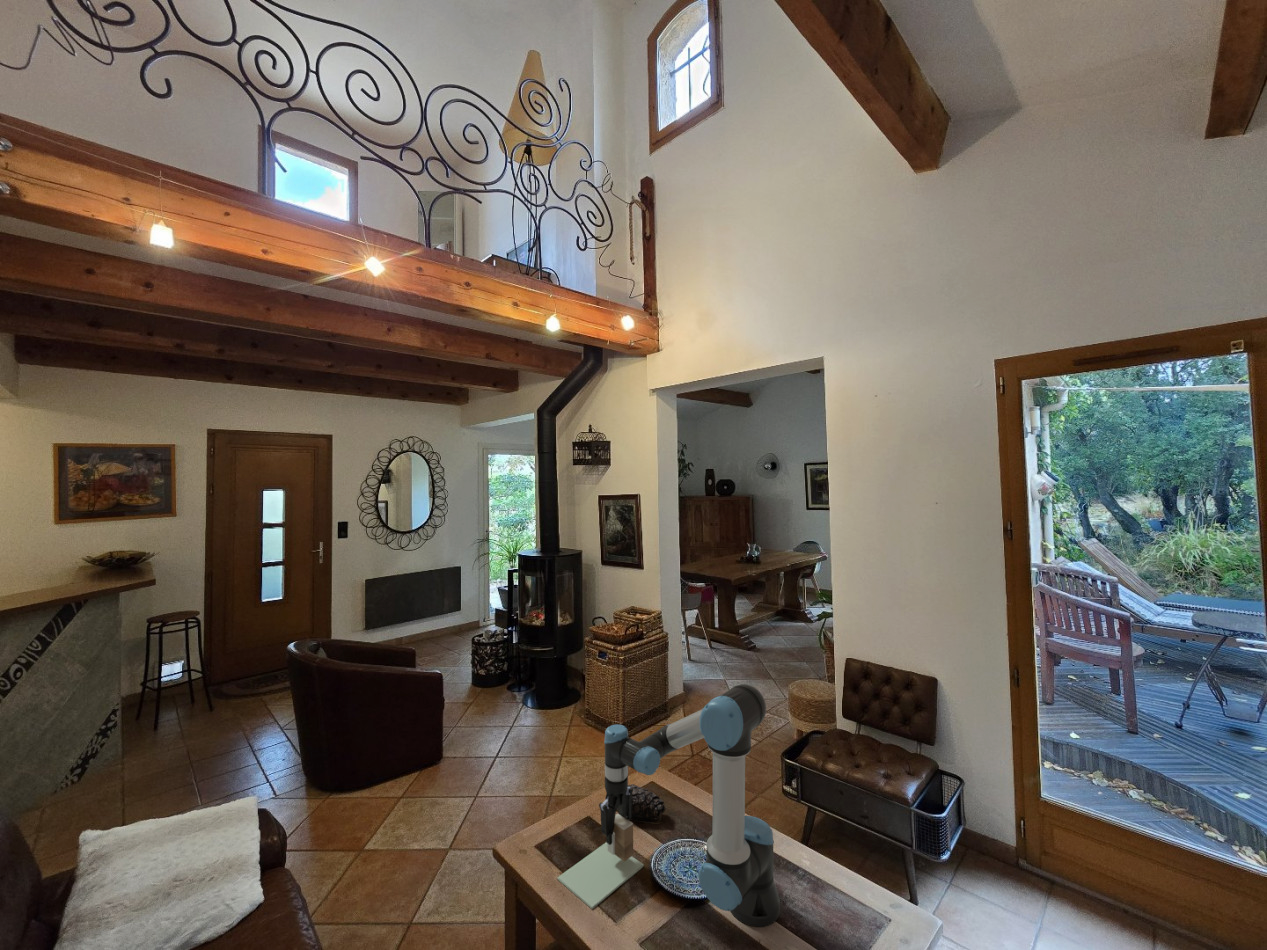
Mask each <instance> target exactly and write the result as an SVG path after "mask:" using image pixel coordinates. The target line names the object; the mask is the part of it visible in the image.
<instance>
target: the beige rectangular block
mask: <svg viewBox="0 0 1267 950" xmlns="http://www.w3.org/2000/svg"><path fill="white" fill-rule="evenodd" d="M613 832H614V833H615V855H616V856H617V857H619V858H620V859H622V860H623V861H624V862H625V861H626V860H627V859H629V858H630V857H631V856H632V857H633V855H634V823H633V822H632V821H631V820H627V819H626V818H624V817H623V816H621V815H620V814H619V813H616V814H615V822H614V830H613Z"/></svg>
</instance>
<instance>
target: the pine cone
mask: <svg viewBox="0 0 1267 950" xmlns="http://www.w3.org/2000/svg"><path fill="white" fill-rule="evenodd" d="M628 786H629V787H630V788H632V789H633V792H632V803H631V819H630V820H629V821H635V822H639V823H648V824H654V825H655V824H656V825H658V824H662V823H663V821H662V822H661V820H662V818H663V817H664V815H663V814H664V812H665V811H666V809H667V808H666V806H665V805H664V804H665V801H663V799H660V796H658V795H657V794H655V793H653V792H652V791H649V790H648V789H646V788H643V787H642V786H639V785H636V784H634V783H633V784H628ZM627 814H628V813H627Z"/></svg>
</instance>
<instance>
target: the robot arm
mask: <svg viewBox="0 0 1267 950" xmlns="http://www.w3.org/2000/svg"><path fill="white" fill-rule="evenodd" d="M766 714H767V704H766V700H765V698H764V696H763V694H762V693H761V691H759V689H758V688H756V687H754V686H753V685H751V684H746V683H743V684H737V685H735V686H733V687H731V688H730V689H729V690H727V691H725V692H724V693H722V694H720V695H718V696H716V697H714V698H712V699H711V700H709V701H708V703H707V704H705V706H704V707H703V708H701V709H699V710H698V711H694V712H693V713H691V714H688V715H687V716H685V717H683V718H681V719H679V720H676V721H675V722H672V723H668V724H666V725H664V726H662V727H660V729H658V730H656V731H655V732H653V733H652V734H649V735H648V736H647V737H644V738H643V739H641V740H640V741H639V740H635V739H633V738H632V737H629V731H628V728H627V727H626V726H625V725H623V724H611V725H610V726H608V727H607V728H606V729H605V731H604V741H603V743H604V789H605V793H606V794H605V797H604V798H605V799H604V801H603V802H599V803H598V807H599V810H600V831H601V833H602V834H604V835H605V836H606V838H605V839H606V841H605V843H606V842H607V843H608V852H610V853H611V854H613V855H614V854H615V833H614V832H613V830H614V822H615V815H616V814H620V815H621V816H623V817H624V818H626V819H627V820H629V821H631V820H630V819H631V803H632V792H633V789H632V788H630V787H629V786H628V785H629V777H628V776H629V768H631V769H632V770H634V771H636V772H638V773H639V774H644V775H646V776H652V775H654V774H655V773H656V772H657V770H658V768H659V766H660V764H661V759H662V758H664V757H665V756H667V755H668V754H670V753H672V752H675V751H677V750H679V749H681V748H683V747H686V746H688V745H691V744H693V743H695V742H698V741H700V740H702V739H703V740H704V741H705V742H706V745H707V747H708V750H710V752H712V824H711V825H712V827H711V828H712V833H711V835H710V836H709V837H708V839H707V841H706V854H705V855H706V859H705V862H703V863H702V864H701V865H700V868H699V870H698V875H697V877H698V882H699V886H700V888H701V889H702V892H703V893H704V894H705V896H706V898H707V899H708V900H709V902H711V904H712V905H714V906H715V907H716V908H718V909H719V910H722V911H725V912H726V911H727V912H731V914H732V915H733V916H734V917H735V918H736V919H737V920H738V921H740V922H741V923H743V924H744V925H745V924H746V925H748V926H751V927H758V928H759V927H768V926H771V925H772V924H773V923H776V921H777V920H778V919H779V917H780V914H781V897H780V895H779V892H778V890H777V889H778V888H777V886H776V883H775V878H774V871H775V870H774V869H775V868H774V864H775V863H774V844H775V841H774V835H773V830H772V828H771V826H770V825H769V824H768V823H767V822H766V821H764V820H763V819H761V818H759V817H757V816H753V815H746V814H745V813H746V804H745V802H746V756H748V755H749V754H750V753H751V750H752V731H753V730H756V728H757V727H759V725H761V723H762V722H763V721H764V719H765V717H766ZM617 811H618V813H616V812H617ZM627 813H628V814H627Z"/></svg>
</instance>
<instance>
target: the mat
mask: <svg viewBox="0 0 1267 950" xmlns="http://www.w3.org/2000/svg"><path fill="white" fill-rule="evenodd" d="M643 867H644V863H642V862H641V861H639V859H636V858H635V857H633V855H632V856H631V857H630V858H629V859H627V860H626V861H625V862H624V861H623V860H622V859H620V858H619V857H617V856H616V855H615V854H614V855H613V854H611V853H610V852H608V843H607V842H606V841H605V843H603V844H601V845H600V846H599V847H597V848H596V849H595V850H593V851H591V852H590V853H589V854H588V855H587V856H585V857H584V858H582V859H581V860H580V861H578V862H577V863H575V864H574V865H573V866H571V867H570V868H569V869H567V870H566V871H564V872H563V873H562V874H560V875H559V876H558V877H557V878H556V879H557V881H559V882H560V883H561V884H562V885H563V886H564V887H565V888H567V889H568V890H569V891H570V892H571V893H573V895H574V896H576V897H577V898H578V899H579V900H580V901H581V902H583V903H584V904H585V905H587V907H588V908H590V909H591V910H593V909H595V908H596V907H597V906H598V905H599V904H600V903H602V902H603V901H604V900H605V899H607V897H609V896H610V895H611V894H612V893H614V892H615V891H616V890H617V889H619V888H620V886H622V885H623V884H624V883H625V882H627V881H628V880H629V879H630V878H632V877H634V875H635V874H637V873H638V872H639V871H640V870H641V869H642V868H643Z"/></svg>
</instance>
